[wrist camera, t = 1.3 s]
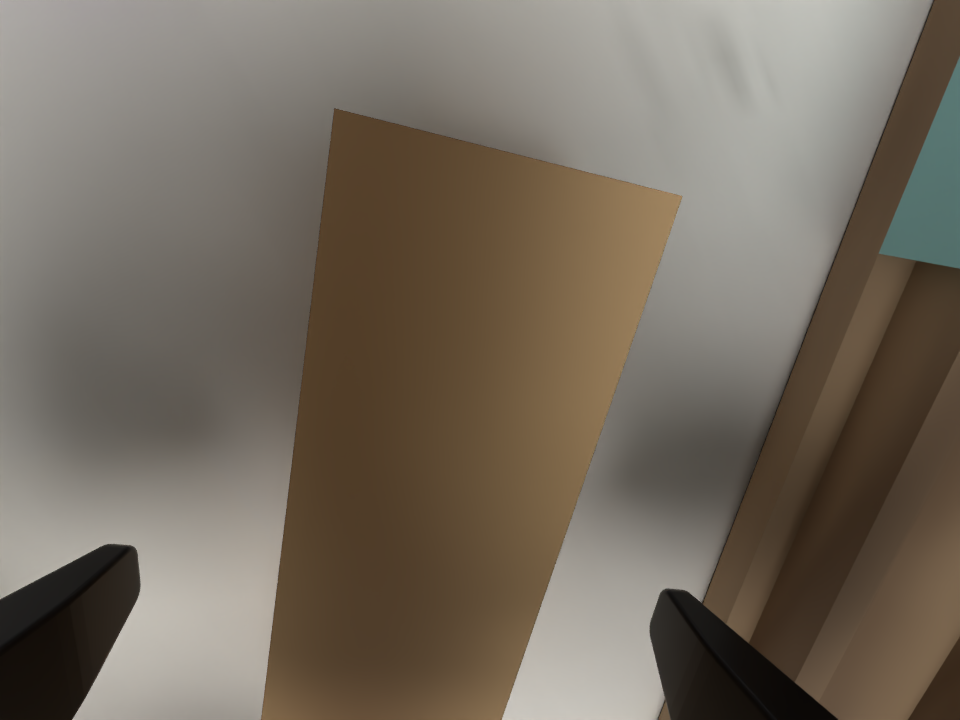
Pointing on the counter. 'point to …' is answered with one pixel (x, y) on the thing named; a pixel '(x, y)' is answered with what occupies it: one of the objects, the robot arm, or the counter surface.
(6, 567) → the counter surface
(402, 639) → the wooden block
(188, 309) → the counter surface
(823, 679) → the board
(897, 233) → the end cap
